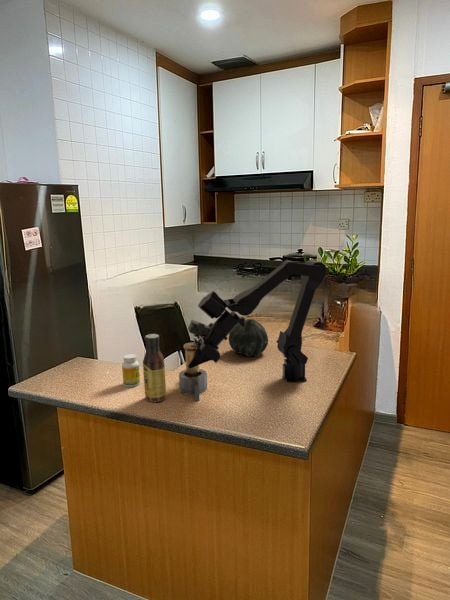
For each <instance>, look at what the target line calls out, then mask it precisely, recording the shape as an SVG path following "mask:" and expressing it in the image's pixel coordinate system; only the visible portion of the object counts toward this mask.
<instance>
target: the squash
mask: <svg viewBox="0 0 450 600" xmlns="http://www.w3.org/2000/svg"><path fill="white" fill-rule="evenodd" d="M244 322H245V327H242V326H241V325H240V324H239V323H238V324H237V326H236V327H235V328H234V329H233V330H232V331H231V332H230V333H229V334H228V344H229V346H230V348H231V349H232V351H234V352H235V353H236V354H240V355H246V356H247V357H252V356H256V357H257V356H259V354H261V353H264V351H265V350H266V349H267V347H268V344H269V336H268V334H267V333H268V332H267V331H266V329H265V327H264V326H263V325H262V324H261V323H260V322H259V321H257V320H255V319H253V318H247V319H245V321H244Z"/></svg>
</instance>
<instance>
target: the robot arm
mask: <svg viewBox="0 0 450 600" xmlns="http://www.w3.org/2000/svg"><path fill="white" fill-rule="evenodd" d="M327 274H328V268H327V267H326V264H325V263H324V262H320V261H317V260H314V259H308V260H307V261H297V260H296V261H294V260H293V261H292V260H288V259H287V260H283V261H282V263H281V264H280V265H279V266H277V267H276V268H275V269H274V270H272V271H271V272H270V273H269V274H268V275H267V276H265V277H264V278H263V279H262V280H260V281H259V282H258V283H257V284H255V285H254V286H252V287H251V288H248V289H245V290H244V291H242V292H240V293H238V294H236V295H235V296H234V297H233V298H229V299H223V298H221V296H219V294H218V293H217V292H216V291H214V290H212V291H211V292H210V293H208V294H206V295H205V296H203V297H202V299H201V300H200V302H199V303H198V305H197V307H198V308H199V309H200V310H201V311H203V312H204V313H205V314H206V315H207V316H208V317H209V318H210V319H214V318H215V319H216V320H215V321H214V322H210V323H208V325H207V324H205V323H202V322H200V321H197V320H194V319H191V321H190V323H189V325H188V327H187V330H188V333H191V334H193V336H194V338H193V343H198V344H199V346H198V345H197V353H196V354H195V356H194V357H193V359H192V360H191V362H190V363H189V365H188V367H189V368H193V367H195V366H197V365H199V366H200V365H202V364H205V363H207V362H209V361H211V362H212V361H213V362H214V363H215V364H217V363H218V362H219V361H220V360H221V352H220V351H219V345H220V344H221V343H222V342H223V341H227V340H229V337H228V336H229V334H230V332H231V331H232V330H233V329H234V328H235V327H236V326H237V324H238V323H239V324H240V325H241V326H242V327H245V322H244V321H245V320H246V318H245V317H244V316H250V315H251V314H252V313H253V312H254V311H255V310H256V309H257V308H258V306H259V305H260V303H261V302H262V300H263V299H264V298H265V297H266V296H267V295H269V294H270V292H272V291H273V290H274V289H275V288H277V287H278V286H279V285H281V284H282V283H283V282H284V281H286V279H288V278H289V277H290V276H292V275H296V276H300V285H301V286H300V289H299V292H298V296H297V298H296V302H295V305H294V308H293V311H292V314H291V317H290V321H289V323H288V327H287V329H285V331H282V330H280V332H279V333H278V339H277V340H276V343H277V346H276V347H277V349H278V352H279V353H281V354H282V356H283V358H284V359H283V361H284V363H282V377H283V378H284V379H285V381H286V382H287V383H293V382H296V383H297V382H306V381H307V378H306V364H307V362H308V359H309V358H308V356H307V355H305V353H304V352H302V346H303V334H302V333H303V330H304V327H305V323H306V321H307V317H308V315H309V312H310V309H311V305H312V303H313V300H314V296H315V293H316V291H317V289H318V288H319V287H320V286H321V285H322V284H323V281H324V280H325V278H326V276H327ZM226 308H227V309H226ZM228 310H229V311H228ZM238 314H239V315H241V316H239V315H238ZM195 337H196V338H195Z"/></svg>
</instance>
